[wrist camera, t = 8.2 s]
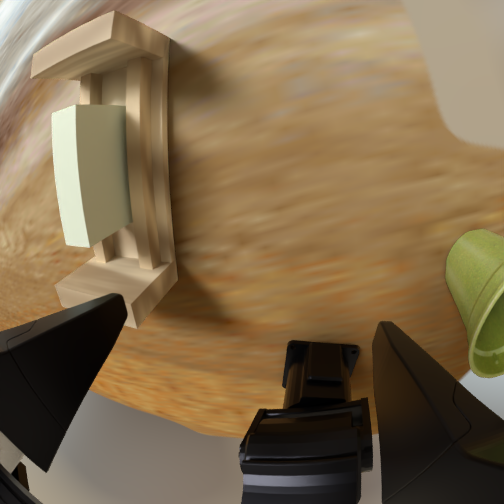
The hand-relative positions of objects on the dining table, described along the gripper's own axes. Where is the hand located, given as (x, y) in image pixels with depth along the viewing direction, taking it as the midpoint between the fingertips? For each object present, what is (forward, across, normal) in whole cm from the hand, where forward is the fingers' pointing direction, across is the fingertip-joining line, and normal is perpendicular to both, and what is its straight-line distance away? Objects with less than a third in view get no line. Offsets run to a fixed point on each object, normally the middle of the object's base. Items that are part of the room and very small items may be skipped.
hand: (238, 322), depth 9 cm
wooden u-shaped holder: (+12, +12, -4) cm, 17 cm away
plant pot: (+12, -17, +2) cm, 21 cm away
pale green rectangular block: (+11, +12, -4) cm, 17 cm away
